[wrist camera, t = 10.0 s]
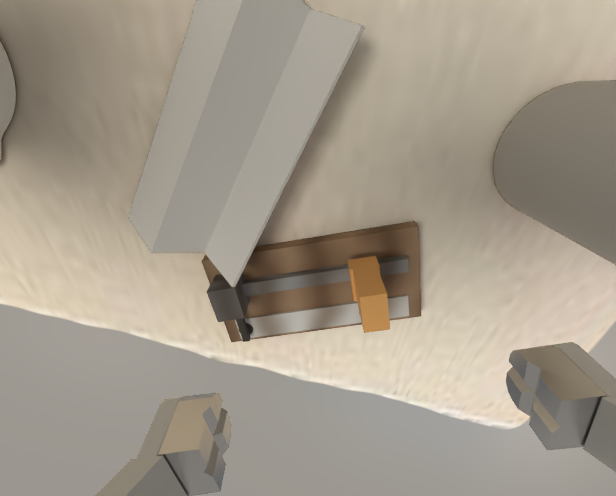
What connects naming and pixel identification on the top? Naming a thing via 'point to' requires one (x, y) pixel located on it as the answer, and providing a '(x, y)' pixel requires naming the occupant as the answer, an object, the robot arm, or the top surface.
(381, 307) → the sliding jaw
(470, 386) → the top surface
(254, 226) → the z bracket
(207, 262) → the gauge board
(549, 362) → the robot arm
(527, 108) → the cylinder vase
